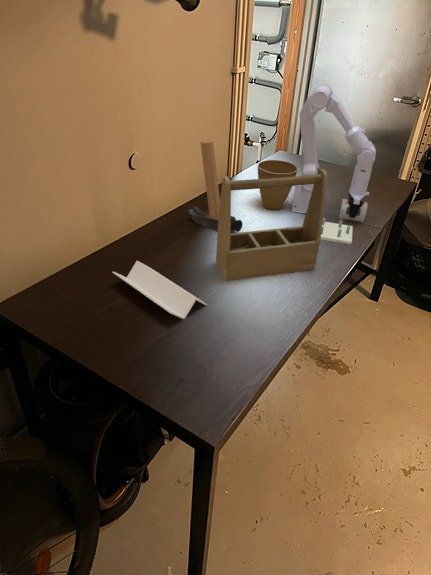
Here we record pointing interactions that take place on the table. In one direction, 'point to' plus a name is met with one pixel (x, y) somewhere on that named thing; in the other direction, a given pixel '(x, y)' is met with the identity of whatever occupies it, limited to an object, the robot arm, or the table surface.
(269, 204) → the plant pot
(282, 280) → the table surface
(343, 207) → the block
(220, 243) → the caddy
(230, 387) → the table surface
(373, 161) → the robot arm
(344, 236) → the peg board
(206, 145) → the hammer
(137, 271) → the z bracket
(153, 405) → the table surface
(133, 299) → the table surface
